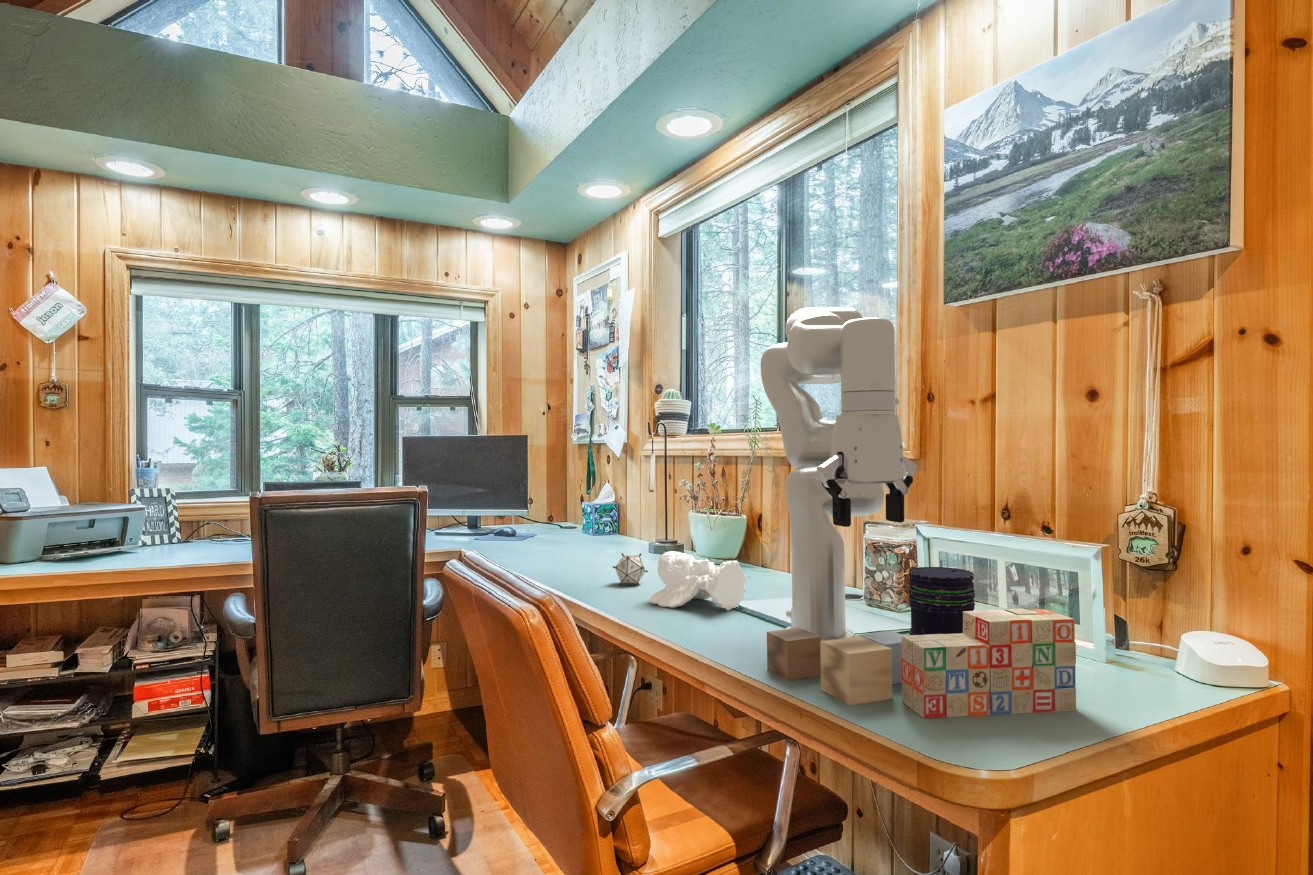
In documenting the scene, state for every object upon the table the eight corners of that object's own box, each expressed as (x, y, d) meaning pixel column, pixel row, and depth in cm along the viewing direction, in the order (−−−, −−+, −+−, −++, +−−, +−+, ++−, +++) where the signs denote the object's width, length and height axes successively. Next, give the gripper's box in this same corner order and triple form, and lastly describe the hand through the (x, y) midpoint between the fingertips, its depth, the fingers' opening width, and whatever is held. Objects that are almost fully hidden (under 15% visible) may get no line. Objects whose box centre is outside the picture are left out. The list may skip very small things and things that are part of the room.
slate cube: (859, 673, 110) (859, 634, 110) (891, 668, 113) (890, 630, 113) (885, 685, 105) (885, 644, 105) (918, 680, 107) (917, 639, 107)
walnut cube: (767, 669, 113) (766, 631, 113) (799, 664, 115) (799, 627, 115) (787, 681, 107) (787, 641, 107) (821, 675, 109) (820, 636, 110)
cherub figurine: (710, 567, 147) (641, 548, 161) (707, 626, 148) (639, 602, 162) (748, 557, 157) (680, 540, 171) (745, 613, 158) (678, 591, 172)
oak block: (820, 689, 103) (820, 641, 103) (861, 683, 106) (860, 636, 106) (850, 705, 97) (849, 653, 97) (892, 698, 99) (891, 648, 99)
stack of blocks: (923, 720, 92) (921, 623, 92) (901, 702, 98) (899, 612, 98) (1077, 711, 94) (1075, 617, 94) (1046, 694, 100) (1044, 606, 100)
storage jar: (943, 679, 107) (942, 579, 107) (895, 662, 116) (894, 569, 116) (990, 670, 111) (989, 574, 111) (941, 654, 120) (939, 564, 120)
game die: (636, 597, 185) (658, 565, 187) (629, 592, 177) (652, 558, 180) (609, 579, 188) (631, 547, 190) (601, 572, 181) (624, 540, 183)
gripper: (895, 406, 110) (896, 517, 110) (802, 405, 103) (803, 524, 103) (932, 404, 103) (933, 522, 103) (836, 403, 96) (837, 530, 96)
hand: (868, 523), depth 103 cm, fingers open, 9 cm apart
